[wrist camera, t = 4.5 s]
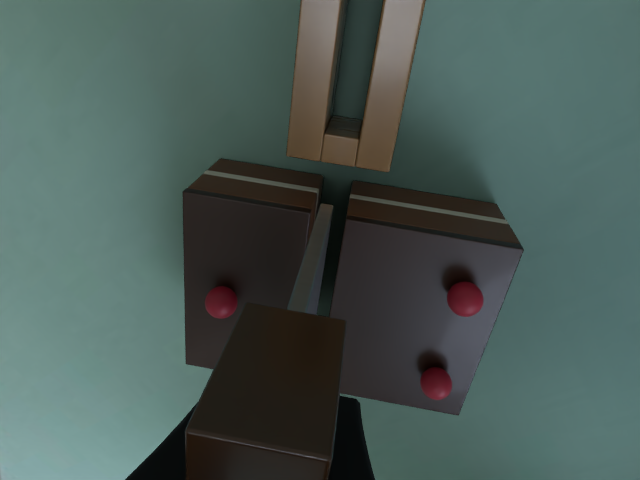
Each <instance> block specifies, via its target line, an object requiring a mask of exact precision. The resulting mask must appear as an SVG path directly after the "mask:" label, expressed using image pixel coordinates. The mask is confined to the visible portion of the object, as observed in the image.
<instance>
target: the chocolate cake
mask: <svg viewBox="0 0 640 480" xmlns="http://www.w3.org/2000/svg"><path fill="white" fill-rule="evenodd" d="M523 251H524V249H523V247H522V245H521V244H520V242H519V240H518V239H517V237H516V235H515V234H514V232H513V230H512V229H511V227H510V225H509V224H508V222H507V220H505V218H504V216H503V214H502V212H501V211H500V209H499V207H498V206H497V204H494V203H488V202H482V201H476V200H470V199H464V198H458V197H451V196H445V195H439V194H433V193H427V192H421V191H415V190H409V189H403V188H397V187H391V186H385V185H379V184H373V183H366V182H360V181H353V182H352V186H351V192H350V198H349V204H348V209H347V215H346V221H345V227H344V233H343V238H342V244H341V250H340V256H339V262H338V267H337V273H336V279H335V285H334V291H333V297H332V302H331V308H330V314H329V317H331V318H337V319H342V320H346V321H347V324H348V325H347V334H346V343H345V352H344V361H343V370H342V379H341V388H340V393H342V394H347V395H353V396H358V397H363V398H368V399H374V400H379V401H384V402H390V403H395V404H400V405H405V406H411V407H416V408H421V409H427V410H432V411H437V412H443V413H448V414H453V415H459V413H460V410H461V408H462V405H463V403H464V400H465V398H466V395H467V393H468V390H469V388H470V385H471V383H472V380H473V377H474V375H475V372H476V370H477V367H478V365H479V362H480V360H481V357H482V355H483V352H484V350H485V347H486V344H487V342H488V339H489V337H490V334H491V332H492V329H493V327H494V324H495V322H496V319H497V317H498V314H499V311H500V309H501V306H502V304H503V301H504V299H505V296H506V294H507V291H508V289H509V286H510V284H511V281H512V278H513V276H514V273H515V271H516V268H517V266H518V263H519V261H520V258H521V256H522V253H523Z"/></svg>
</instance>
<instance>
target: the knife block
mask: <svg viewBox="0 0 640 480" xmlns="http://www.w3.org/2000/svg"><path fill="white" fill-rule="evenodd" d="M425 1H426V0H383V5H382V11H381V17H380V23H379V28H378V34H377V40H376V46H375V52H374V57H373V63H372V69H371V75H370V81H369V87H368V92H367V98H366V104H365V110H364V116H363V121H362V120H360V119H354V118H347V117H341V116H335V115H334V116H332V115H333V108H334V100H335V93H336V86H337V79H338V72H339V65H340V57H341V50H342V43H343V36H344V29H345V22H346V14H347V7H348V0H301V4H300V14H299V25H298V35H297V46H296V56H295V67H294V78H293V88H292V99H291V109H290V120H289V130H288V141H287V151H286V156H289V157H295V158H301V159H307V160H313V161H320V160H321V161H322V162H327V163H333V164H339V165H345V166H351V167H354V166H356V167H358V168H364V169H370V170H377V171H383V172H389V171H390V167H391V162H392V158H393V153H394V148H395V143H396V139H397V134H398V129H399V124H400V120H401V115H402V110H403V106H404V101H405V96H406V91H407V87H408V82H409V77H410V72H411V68H412V63H413V58H414V53H415V49H416V44H417V39H418V35H419V30H420V25H421V20H422V16H423V11H424V6H425Z"/></svg>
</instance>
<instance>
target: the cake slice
mask: <svg viewBox="0 0 640 480" xmlns="http://www.w3.org/2000/svg"><path fill="white" fill-rule="evenodd" d="M323 179H324V177H323V176H322V175H317V174H311V173H305V172H299V171H293V170H287V169H281V168H275V167H269V166H263V165H257V164H250V163H244V162H238V161H232V160H226V159H219V160H218V161H217V162H216V163H214V164H213V165H212V166H211V167H210V168H209V169H208V170H206V171H205V172H204V173H203V174H202V175H201V176H200V177H199V178H198V179H197V180H196V181H195V182H194V183H192V184H191V185H190V186H189V187H188V188H186V189H185V190H184V191H183V235H184V290H185V346H186V364H188V365H194V366H199V367H204V368H210V369H214V367H215V365H216V363H217V361H218V359H219V357H220V355H221V353H222V350H223V348H224V346H225V344H226V342H227V340H228V338H229V336H230V333H231V331H232V329H233V327H234V325H235V323H236V321H237V319H238V316H239V314H240V312H241V310H242V308H243V306H244V304H245V303H246V302H250V303H255V304H261V305H266V306H272V307H277V308H282V309H287V307H288V304H289V301H290V298H291V295H292V292H293V288H294V285H295V282H296V279H297V276H298V273H299V270H300V267H301V263H302V260H303V257H304V254H305V251H306V248H307V245H308V242H309V238H310V235H311V232H312V229H313V226H314V223H315V220H316V217H317V214H318V210H319V207H320V200H321V193H322V186H323Z"/></svg>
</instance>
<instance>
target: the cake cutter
mask: <svg viewBox="0 0 640 480" xmlns="http://www.w3.org/2000/svg"><path fill="white" fill-rule="evenodd" d="M332 213H333V205H328V204H323V203H322V204H320V207H319V210H318V214H317V217H316V220H315V223H314V226H313V229H312V232H311V235H310V238H309V242H308V245H307V248H306V251H305V254H304V257H303V260H302V263H301V267H300V270H299V273H298V276H297V279H296V282H295V285H294V288H293V292H292V295H291V298H290V301H289V304H288V307H287V309H282V308H277V307H272V306H266V305H261V304H255V303H250V302H246V303H245V304H244V306H243V308H242V310H241V312H240V314H239V316H238V319H237V321H236V323H235V325H234V327H233V329H232V331H231V333H230V336H229V338H228V340H227V342H226V344H225V346H224V348H223V350H222V353H221V355H220V357H219V359H218V361H217V363H216V365H215V367H214V370H213V372H212V374H211V376H210V378H209V380H208V382H207V384H206V387H205V389H204V391H203V393H202V395H201V397H200V399H199V401H198V404H197V406H196V408H195V410H194V412H193V414H192V416H191V418H190V420H189V423H188V425H187V427H186V429H185V451H186V480H328V477H329V473H330V468H331V464H332V459H333V451H334V442H335V433H336V424H337V415H338V406H339V397H340V388H341V379H342V370H343V361H344V352H345V343H346V334H347V325H348V324H347V321H346V320H342V319H337V318H331V317H326V316H321V315H316V314H317V308H318V302H319V295H320V289H321V283H322V276H323V270H324V264H325V257H326V251H327V245H328V239H329V232H330V226H331V220H332Z"/></svg>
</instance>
